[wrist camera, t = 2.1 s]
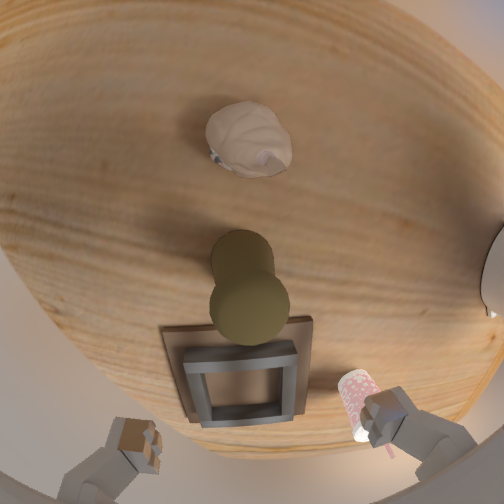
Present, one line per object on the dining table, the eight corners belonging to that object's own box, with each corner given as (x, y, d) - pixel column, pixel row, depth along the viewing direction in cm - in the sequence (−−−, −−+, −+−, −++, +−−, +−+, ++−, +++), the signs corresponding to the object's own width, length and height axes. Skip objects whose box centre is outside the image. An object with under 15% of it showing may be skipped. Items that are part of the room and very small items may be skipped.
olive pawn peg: (226, 298, 27) (227, 371, 17) (200, 245, 26) (182, 298, 15) (282, 274, 27) (313, 338, 17) (259, 219, 25) (281, 256, 15)
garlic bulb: (214, 182, 24) (207, 188, 16) (205, 114, 22) (194, 91, 14) (286, 173, 24) (312, 175, 17) (278, 106, 22) (299, 81, 15)
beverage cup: (348, 361, 32) (393, 443, 18) (380, 367, 33) (426, 438, 19) (324, 393, 33) (356, 474, 20) (356, 397, 34) (392, 468, 21)
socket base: (310, 316, 29) (320, 333, 26) (302, 408, 34) (308, 426, 30) (163, 327, 28) (157, 346, 25) (190, 417, 33) (188, 436, 29)
